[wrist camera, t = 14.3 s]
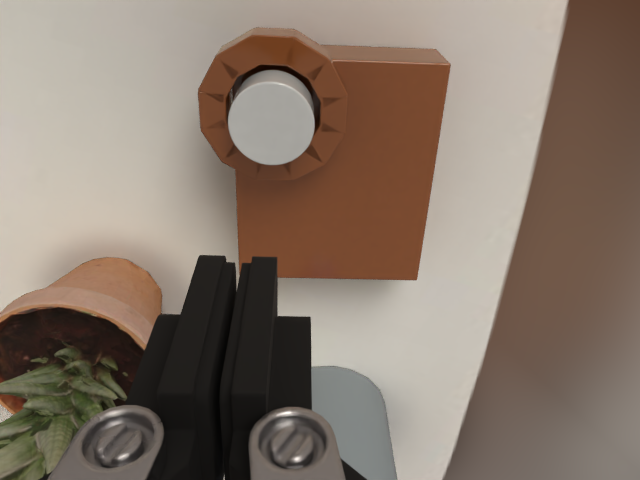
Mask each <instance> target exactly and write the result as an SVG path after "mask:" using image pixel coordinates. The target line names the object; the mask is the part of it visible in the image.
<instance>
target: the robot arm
mask: <svg viewBox="0 0 640 480" xmlns="http://www.w3.org/2000/svg"><path fill="white" fill-rule="evenodd" d="M224 474H225V480H367V479H366V478H365V477H363V476H362V475H361V474H360V473H358V472H357V471H356V470H355V469H353V468H352V467H351V466H350V465H349V464H347V463H346V462H345V461H344V460H342V459H341V458H340V454H339V450H338V446H337V442H336V437H335V434H334V432H333V430H332V427H331V425H330V424H329V423H328V422H327V421H326V420H325V419H324V417H323V416H321V415H319V414H317V413H316V412H314V411H312V381H311V318H310V317H289V316H277V257H257V256H253V257H252V261H251V263H242V266H241V272H240V277H239V283H238V288H236V267H235V263H230V262H226V257H225V256H211V255H200V256H199V257H198V260H197V264H196V267H195V270H194V273H193V276H192V280H191V283H190V286H189V289H188V293H187V296H186V299H185V302H184V305H183V309H182V312H181V315H175V314H160V315H159V316H158V317H157V319H156V321H155V323H154V326H153V329H152V332H151V334H150V337H149V340H148V343H147V345H146V348H145V351H144V353H143V356H142V359H141V362H140V364H139V367H138V370H137V373H136V375H135V378H134V381H133V383H132V386H131V389H130V392H129V394H128V397H127V400H126V402H125V405H122V406H117V407H113V408H109V409H107V410H105V411H102V412H100V413H98V414H96V415H95V416H93V417H92V418H91V419H89V420H88V421H87V422H85V423H84V425H83V426H82V427H81V428H80V429H79V431H78V432H77V433H76V435H75V436H74V438H73V439H72V441H71V442H70V444H69V446H68V447H67V449H66V450H65V452H64V454H63V455H62V457H61V458H60V460H59V461H58V463H57V465H56V466H55V468H54V469H53V471H52V472H50V473H48V474H47V475H45V476H43V477H42V478H40V479H38V480H223V477H224Z"/></svg>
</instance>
